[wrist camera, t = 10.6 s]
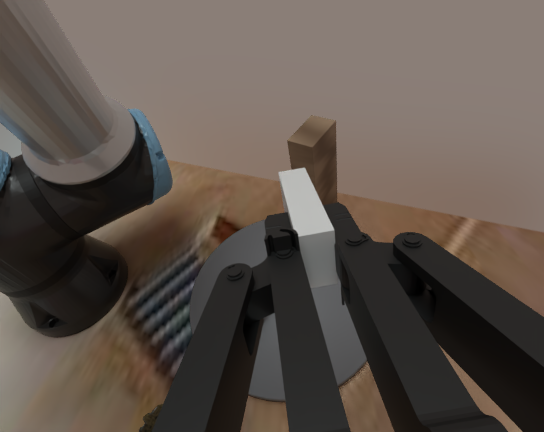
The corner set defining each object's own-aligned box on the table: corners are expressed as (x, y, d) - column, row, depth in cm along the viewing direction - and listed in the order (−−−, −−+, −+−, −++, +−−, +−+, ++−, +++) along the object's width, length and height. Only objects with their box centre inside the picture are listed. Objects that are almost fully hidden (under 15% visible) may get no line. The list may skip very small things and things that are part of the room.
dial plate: (156, 314, 45) (151, 309, 44) (273, 200, 56) (272, 193, 55) (306, 462, 31) (304, 461, 30) (421, 273, 42) (423, 266, 41)
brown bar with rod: (248, 374, 36) (192, 300, 22) (216, 350, 38) (148, 270, 25) (343, 229, 47) (344, 122, 34) (314, 217, 49) (303, 113, 36)
